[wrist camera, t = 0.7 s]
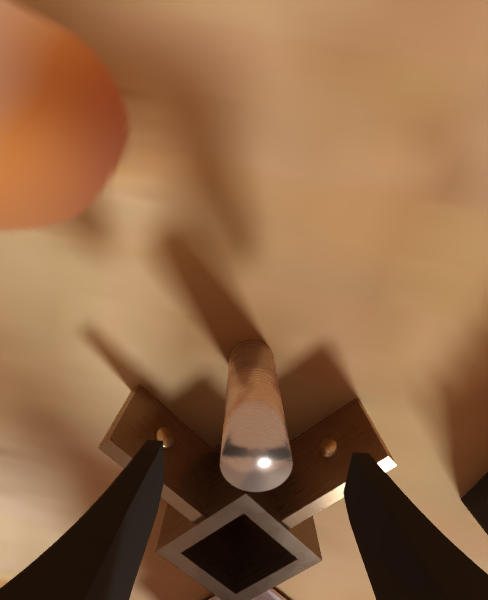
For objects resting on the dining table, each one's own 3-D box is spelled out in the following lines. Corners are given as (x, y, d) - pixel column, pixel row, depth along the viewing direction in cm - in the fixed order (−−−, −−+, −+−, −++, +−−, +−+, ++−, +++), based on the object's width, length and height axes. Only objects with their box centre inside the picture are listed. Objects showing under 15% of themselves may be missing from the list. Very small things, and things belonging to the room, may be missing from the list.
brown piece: (236, 528, 24) (234, 608, 20) (100, 416, 21) (58, 480, 16) (387, 433, 21) (428, 502, 17) (258, 287, 18) (263, 319, 13)
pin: (249, 387, 20) (252, 502, 13) (220, 358, 20) (204, 461, 12) (283, 362, 20) (307, 467, 12) (254, 331, 19) (260, 422, 11)
